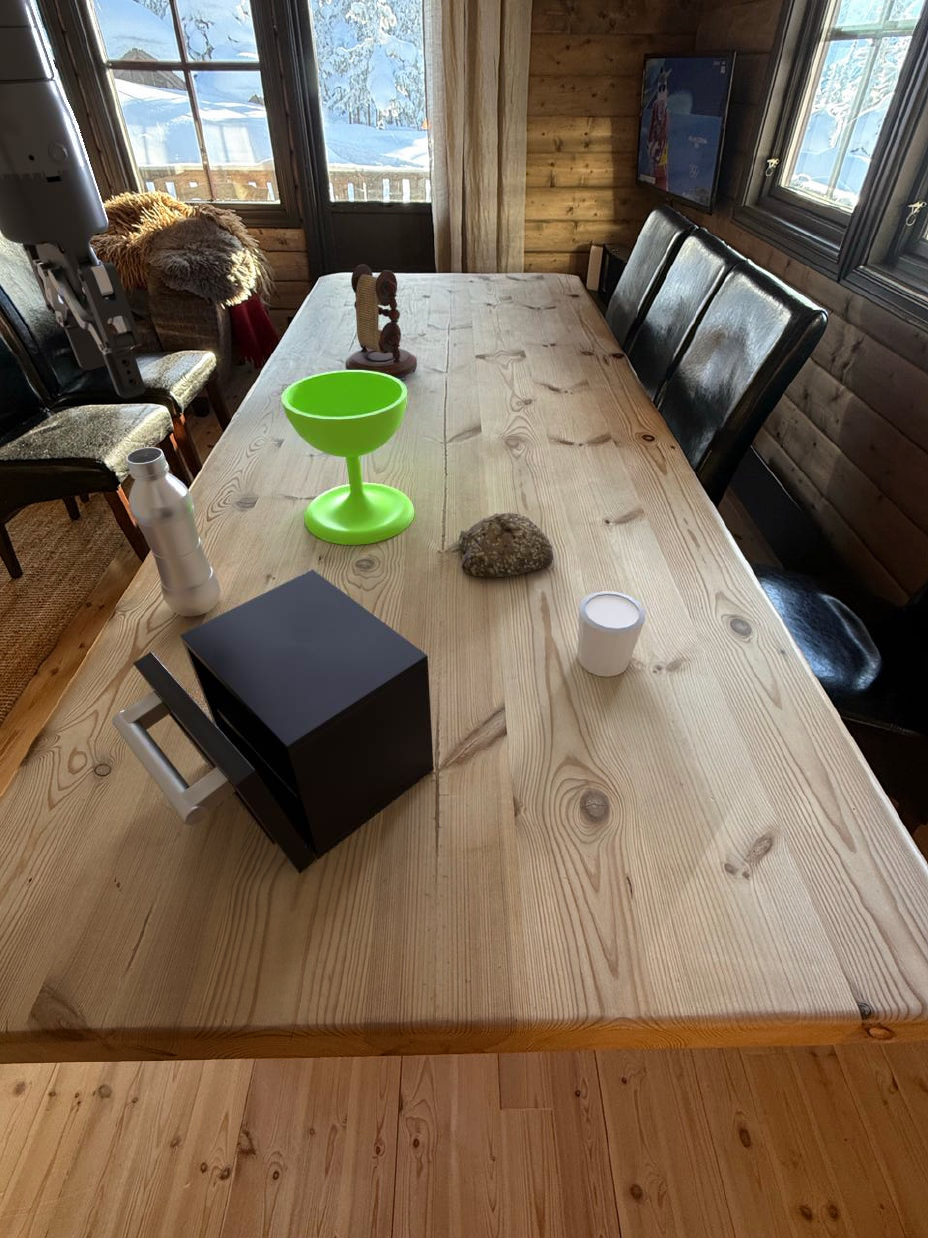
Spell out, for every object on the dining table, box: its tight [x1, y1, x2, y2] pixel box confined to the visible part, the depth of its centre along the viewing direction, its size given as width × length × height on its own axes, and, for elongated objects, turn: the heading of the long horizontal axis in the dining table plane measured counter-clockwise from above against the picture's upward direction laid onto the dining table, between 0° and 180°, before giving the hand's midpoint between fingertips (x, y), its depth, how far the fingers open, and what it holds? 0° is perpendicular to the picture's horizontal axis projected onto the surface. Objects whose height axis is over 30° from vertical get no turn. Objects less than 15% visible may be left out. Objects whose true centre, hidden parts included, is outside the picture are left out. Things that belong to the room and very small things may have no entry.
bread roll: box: [457, 512, 554, 578], centre depth 87 cm, size 13×12×5 cm
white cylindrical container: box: [577, 590, 646, 678], centre depth 71 cm, size 7×7×7 cm
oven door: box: [111, 651, 316, 874], centre depth 53 cm, size 5×16×15 cm, turn 44°
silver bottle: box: [125, 446, 221, 617], centre depth 74 cm, size 6×7×20 cm
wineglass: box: [281, 369, 416, 546], centre depth 90 cm, size 16×16×18 cm
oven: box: [179, 568, 435, 860], centre depth 58 cm, size 13×16×15 cm
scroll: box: [344, 264, 418, 379], centre depth 131 cm, size 15×15×20 cm
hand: (113, 380), depth 59 cm, fingers open, 8 cm apart
